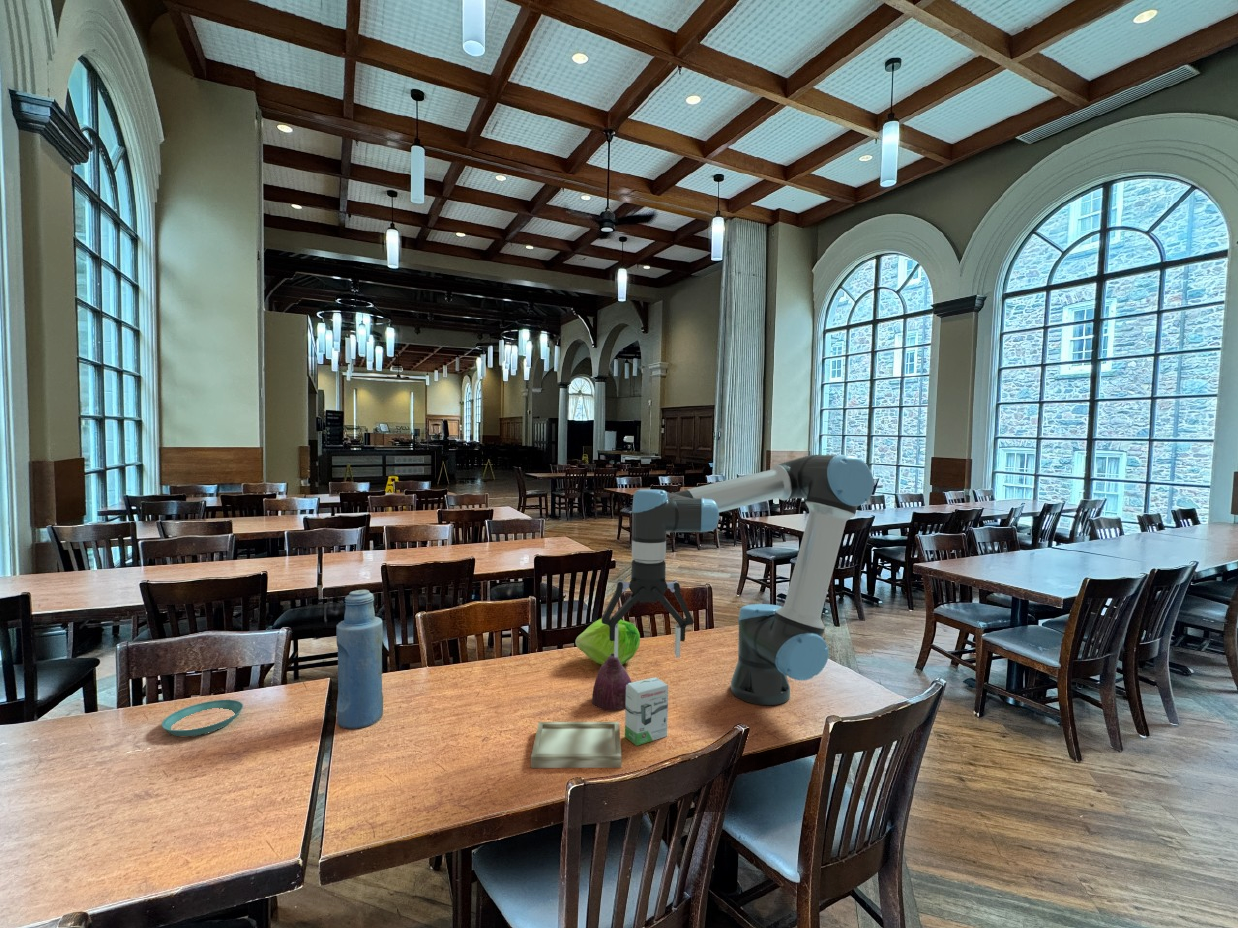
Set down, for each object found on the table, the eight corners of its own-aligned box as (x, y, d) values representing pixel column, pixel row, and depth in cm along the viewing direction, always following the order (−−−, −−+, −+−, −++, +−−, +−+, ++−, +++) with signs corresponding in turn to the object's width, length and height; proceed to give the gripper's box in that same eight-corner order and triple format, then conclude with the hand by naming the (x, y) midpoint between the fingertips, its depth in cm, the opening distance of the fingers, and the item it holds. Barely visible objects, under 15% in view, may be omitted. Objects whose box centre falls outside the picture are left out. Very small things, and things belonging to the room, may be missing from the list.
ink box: (636, 746, 118) (637, 692, 118) (623, 736, 122) (624, 683, 122) (668, 736, 123) (669, 683, 122) (655, 726, 127) (656, 675, 127)
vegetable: (627, 724, 134) (633, 673, 130) (586, 714, 136) (591, 663, 132) (636, 696, 144) (642, 647, 139) (598, 687, 146) (602, 638, 141)
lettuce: (566, 662, 165) (569, 615, 168) (627, 664, 172) (629, 618, 176) (583, 668, 152) (586, 616, 155) (648, 669, 159) (650, 620, 163)
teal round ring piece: (223, 704, 135) (223, 694, 135) (256, 720, 128) (256, 708, 128) (149, 730, 122) (149, 719, 122) (180, 749, 115) (180, 737, 115)
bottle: (390, 719, 129) (390, 591, 128) (346, 734, 121) (346, 599, 121) (372, 705, 135) (373, 584, 134) (329, 719, 128) (330, 591, 127)
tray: (618, 731, 124) (618, 721, 124) (621, 767, 110) (621, 756, 110) (538, 731, 124) (538, 721, 124) (530, 767, 110) (530, 756, 110)
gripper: (701, 557, 126) (699, 649, 126) (592, 555, 125) (590, 648, 125) (708, 563, 118) (705, 661, 119) (591, 562, 117) (590, 661, 118)
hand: (646, 655), depth 122 cm, fingers open, 13 cm apart
